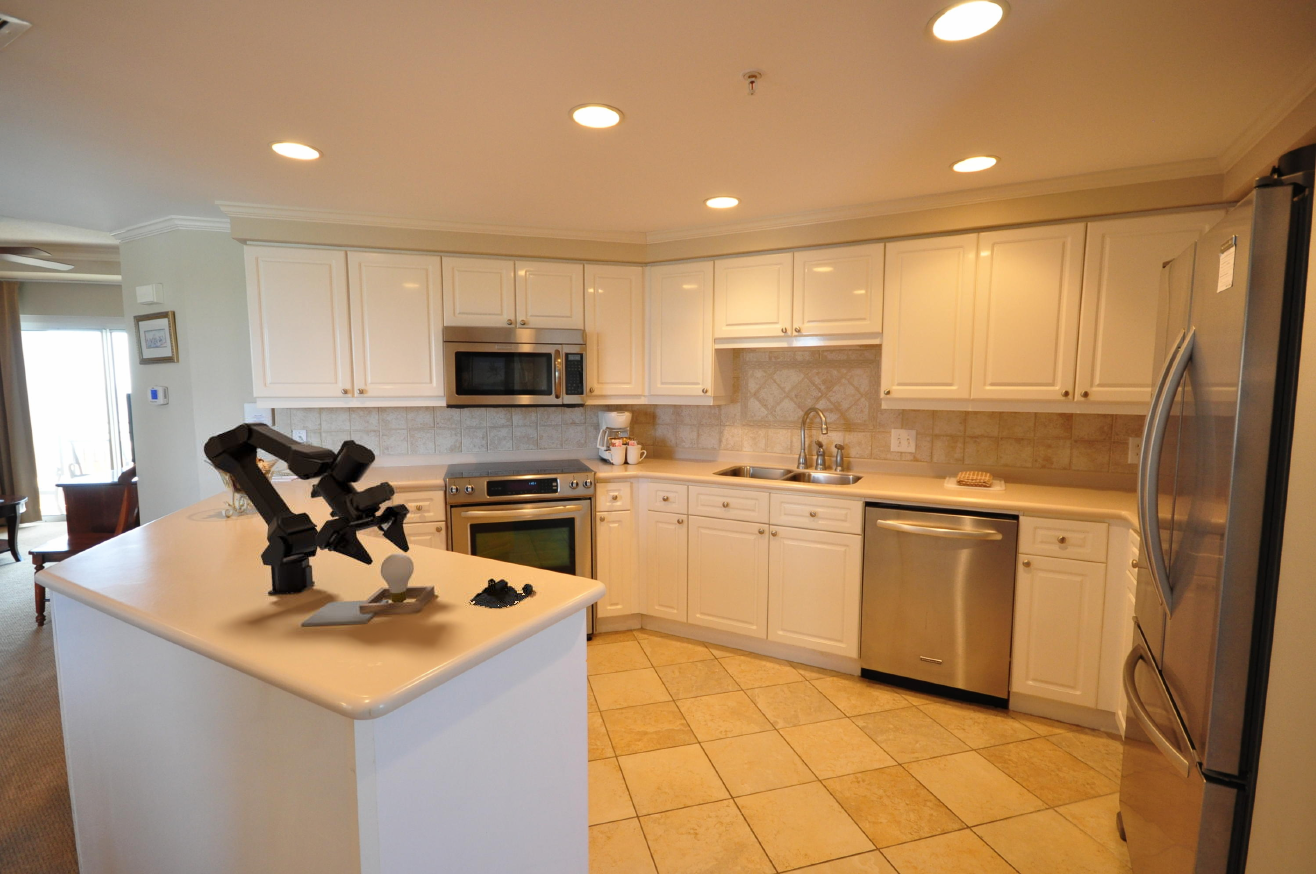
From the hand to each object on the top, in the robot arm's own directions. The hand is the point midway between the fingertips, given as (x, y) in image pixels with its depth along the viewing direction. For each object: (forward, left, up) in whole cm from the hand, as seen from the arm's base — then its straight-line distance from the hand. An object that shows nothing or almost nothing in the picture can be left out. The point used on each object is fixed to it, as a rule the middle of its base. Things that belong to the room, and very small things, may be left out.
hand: (390, 556), depth 115 cm
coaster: (-6, -5, -9) cm, 12 cm away
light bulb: (+2, -1, -9) cm, 10 cm away
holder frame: (+2, -1, -9) cm, 9 cm away
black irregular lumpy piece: (+21, +1, -10) cm, 23 cm away
